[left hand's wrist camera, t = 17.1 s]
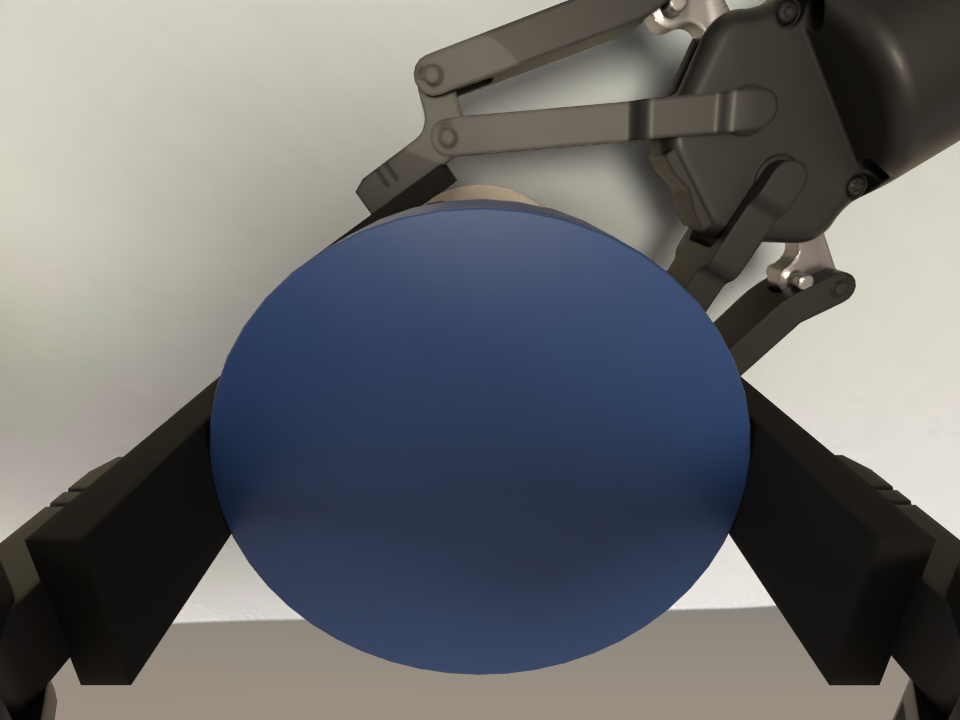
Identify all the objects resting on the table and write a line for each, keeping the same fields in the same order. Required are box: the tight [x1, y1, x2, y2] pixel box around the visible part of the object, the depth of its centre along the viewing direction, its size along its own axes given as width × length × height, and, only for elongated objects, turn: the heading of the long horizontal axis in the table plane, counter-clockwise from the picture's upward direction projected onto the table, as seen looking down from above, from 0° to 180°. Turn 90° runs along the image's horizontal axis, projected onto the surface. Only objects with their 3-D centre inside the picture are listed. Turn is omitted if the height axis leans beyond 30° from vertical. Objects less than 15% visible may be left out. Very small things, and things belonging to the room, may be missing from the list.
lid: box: [210, 199, 750, 675], centre depth 11 cm, size 11×11×2 cm
